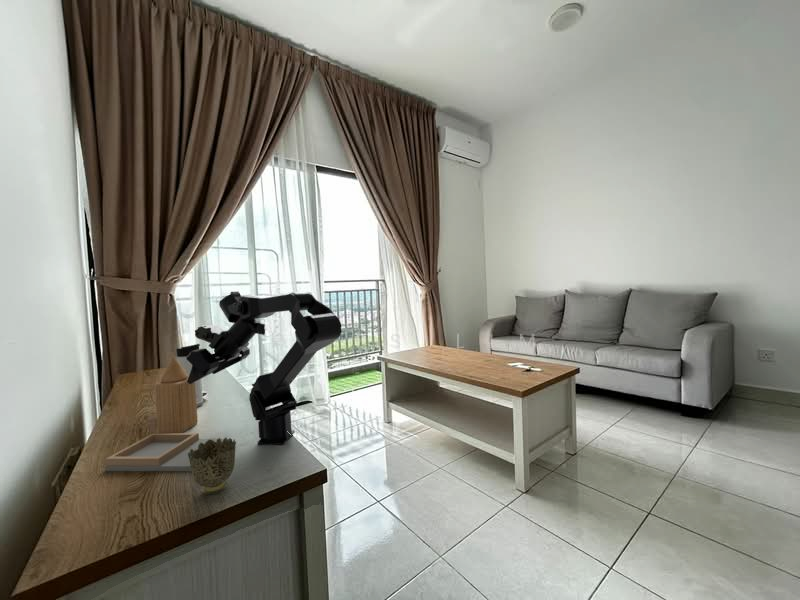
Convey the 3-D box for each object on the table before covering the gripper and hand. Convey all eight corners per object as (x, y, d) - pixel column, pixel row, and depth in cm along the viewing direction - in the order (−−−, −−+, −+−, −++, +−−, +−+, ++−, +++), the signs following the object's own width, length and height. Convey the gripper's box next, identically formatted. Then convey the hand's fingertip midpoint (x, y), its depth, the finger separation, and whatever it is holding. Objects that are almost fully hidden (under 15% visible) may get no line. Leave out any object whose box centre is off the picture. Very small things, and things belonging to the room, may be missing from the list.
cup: (217, 505, 54) (214, 458, 54) (180, 501, 56) (177, 455, 55) (247, 479, 62) (244, 437, 61) (213, 476, 63) (210, 436, 63)
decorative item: (156, 434, 84) (151, 357, 83) (175, 424, 90) (170, 352, 90) (181, 434, 83) (176, 357, 83) (198, 423, 90) (194, 351, 89)
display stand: (232, 442, 77) (231, 432, 77) (196, 471, 65) (196, 458, 65) (153, 443, 79) (152, 433, 79) (105, 471, 67) (104, 459, 67)
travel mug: (196, 409, 101) (192, 345, 101) (175, 410, 101) (171, 346, 101) (208, 402, 108) (204, 342, 107) (188, 403, 108) (184, 343, 107)
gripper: (237, 310, 94) (203, 349, 95) (191, 317, 75) (149, 365, 76) (265, 337, 94) (230, 375, 95) (226, 350, 75) (183, 397, 76)
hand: (201, 377), depth 86 cm, fingers open, 9 cm apart
